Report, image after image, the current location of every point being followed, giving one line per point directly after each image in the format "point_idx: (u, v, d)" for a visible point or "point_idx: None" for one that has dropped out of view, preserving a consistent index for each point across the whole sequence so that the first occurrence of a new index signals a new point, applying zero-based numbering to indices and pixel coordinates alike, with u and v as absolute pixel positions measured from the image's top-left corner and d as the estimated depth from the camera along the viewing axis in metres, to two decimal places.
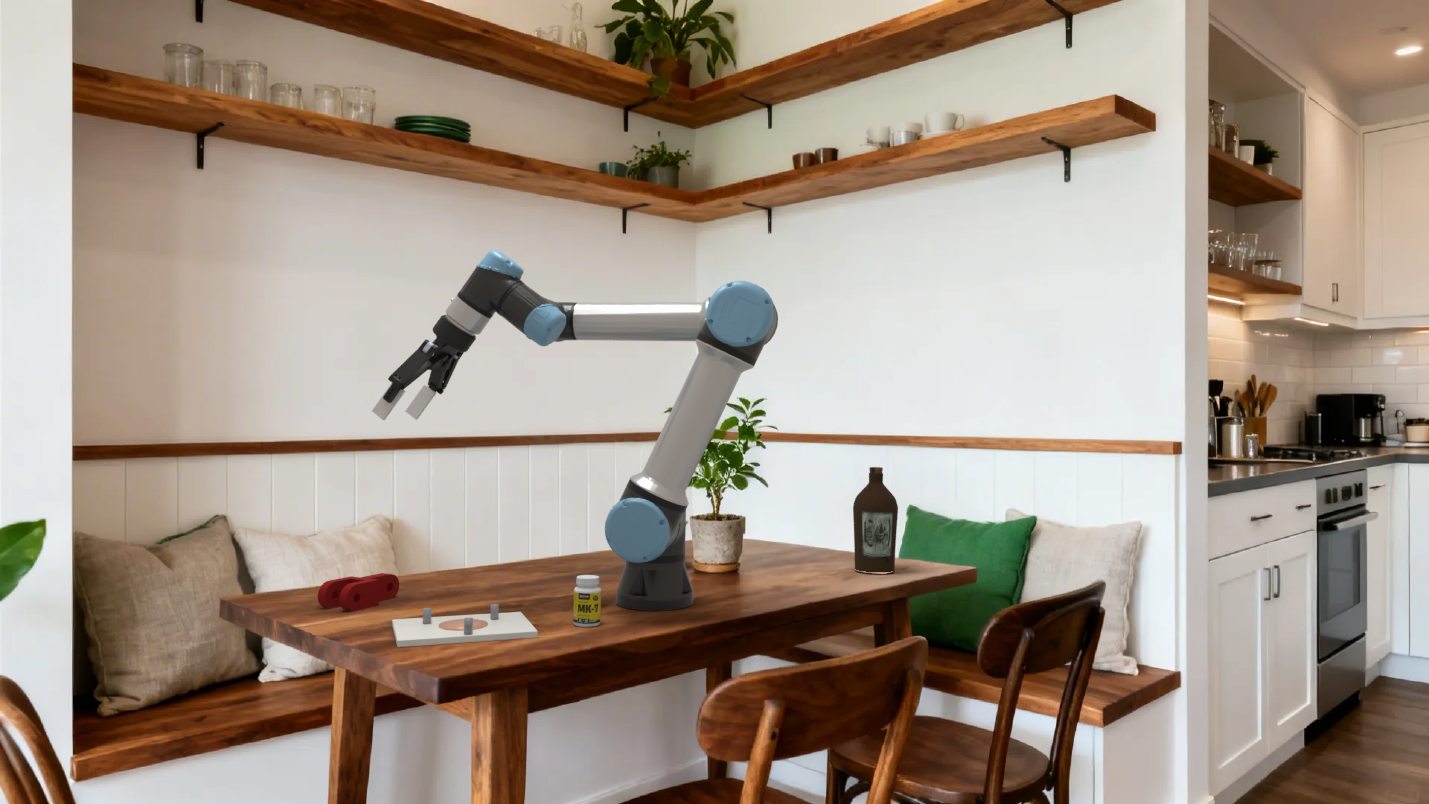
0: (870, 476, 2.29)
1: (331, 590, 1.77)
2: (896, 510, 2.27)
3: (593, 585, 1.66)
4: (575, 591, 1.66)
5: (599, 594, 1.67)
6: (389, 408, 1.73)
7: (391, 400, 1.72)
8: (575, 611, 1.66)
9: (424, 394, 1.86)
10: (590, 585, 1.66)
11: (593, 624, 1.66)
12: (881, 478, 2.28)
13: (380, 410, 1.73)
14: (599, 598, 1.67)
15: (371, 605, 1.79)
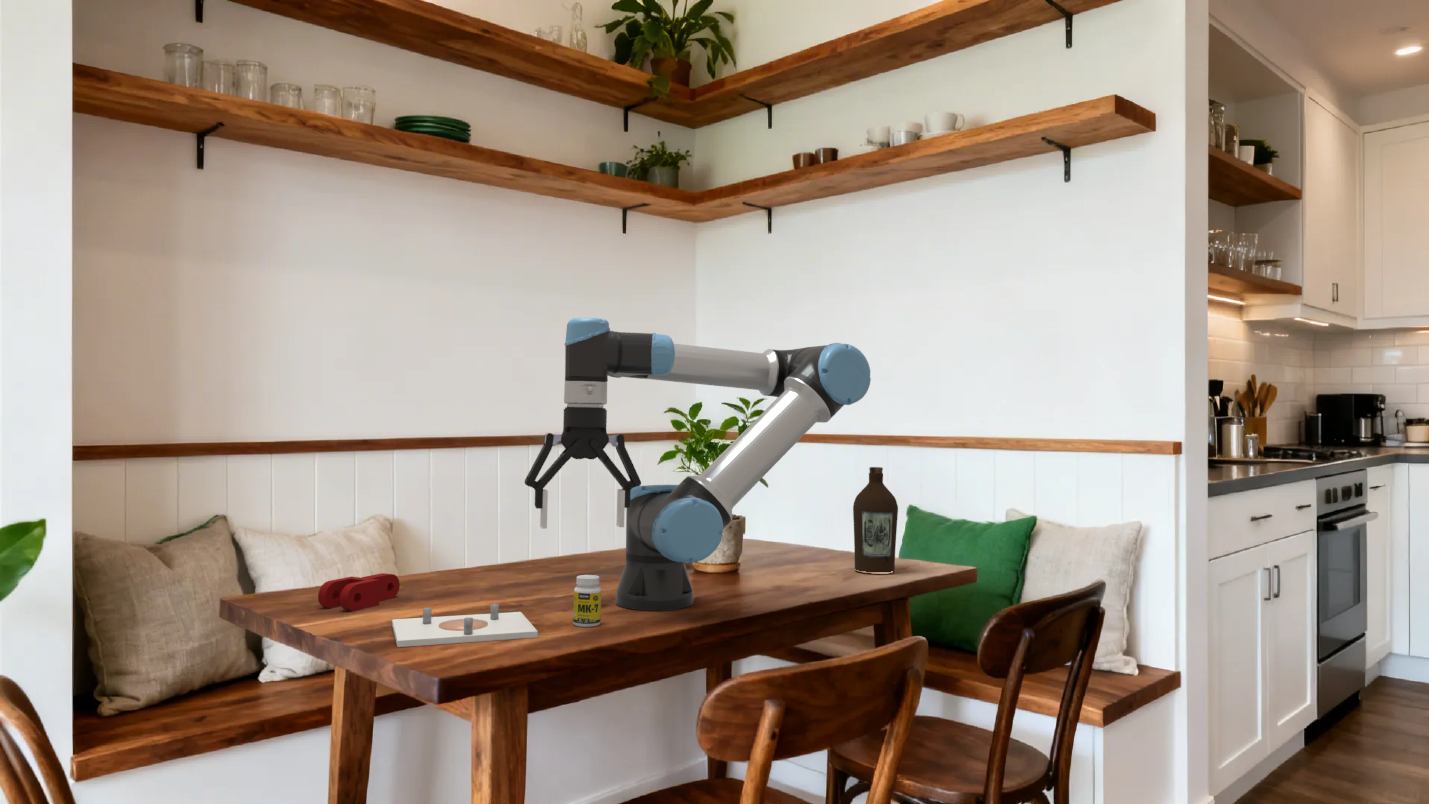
0: (870, 476, 2.29)
1: (332, 590, 1.78)
2: (896, 510, 2.27)
3: (593, 585, 1.66)
4: (575, 591, 1.66)
5: (599, 594, 1.67)
6: None
7: None
8: (575, 611, 1.66)
9: None
10: (590, 585, 1.66)
11: (593, 624, 1.66)
12: (881, 478, 2.28)
13: None
14: (599, 598, 1.67)
15: (371, 605, 1.79)
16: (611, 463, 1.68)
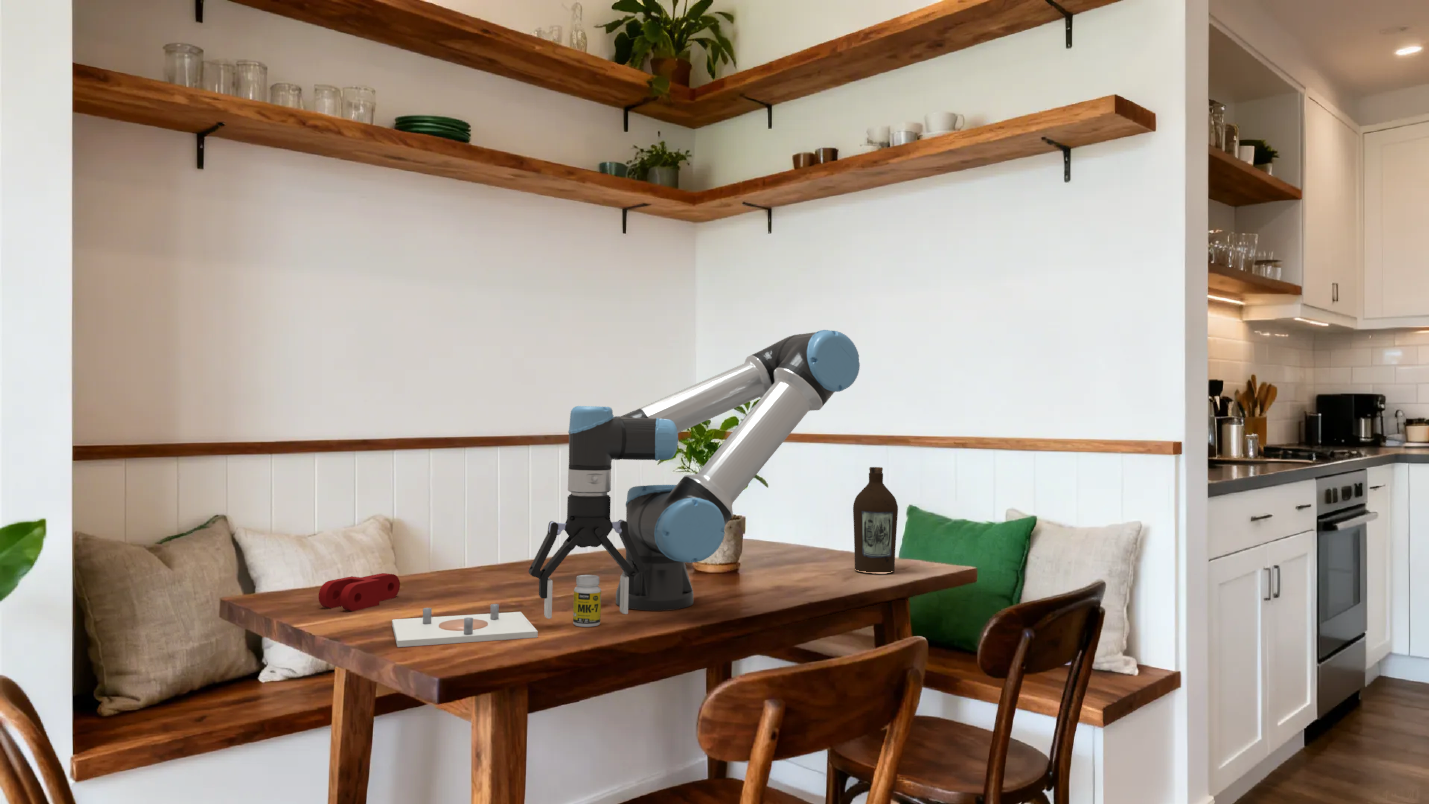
0: (870, 476, 2.29)
1: (332, 590, 1.78)
2: (896, 510, 2.27)
3: (593, 585, 1.66)
4: (575, 591, 1.66)
5: (599, 594, 1.67)
6: None
7: None
8: (575, 611, 1.66)
9: None
10: (590, 585, 1.66)
11: (593, 624, 1.66)
12: (881, 478, 2.28)
13: None
14: (599, 598, 1.67)
15: (372, 605, 1.80)
16: (615, 550, 1.68)
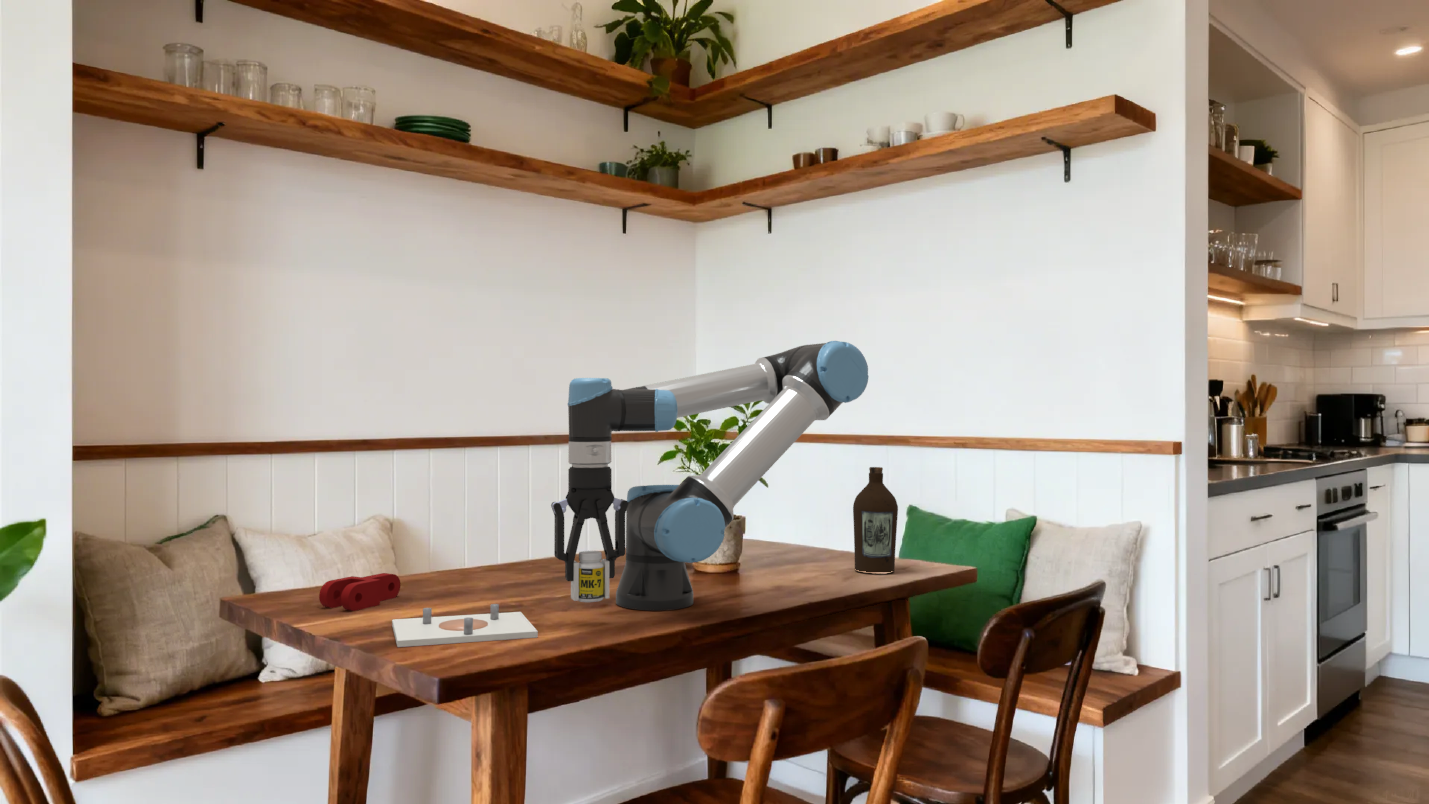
0: (870, 476, 2.29)
1: (333, 589, 1.78)
2: (896, 510, 2.27)
3: (595, 560, 1.66)
4: None
5: (602, 569, 1.67)
6: None
7: None
8: None
9: None
10: (593, 560, 1.66)
11: (596, 599, 1.66)
12: (881, 478, 2.28)
13: None
14: (602, 573, 1.67)
15: (372, 605, 1.80)
16: (606, 528, 1.68)
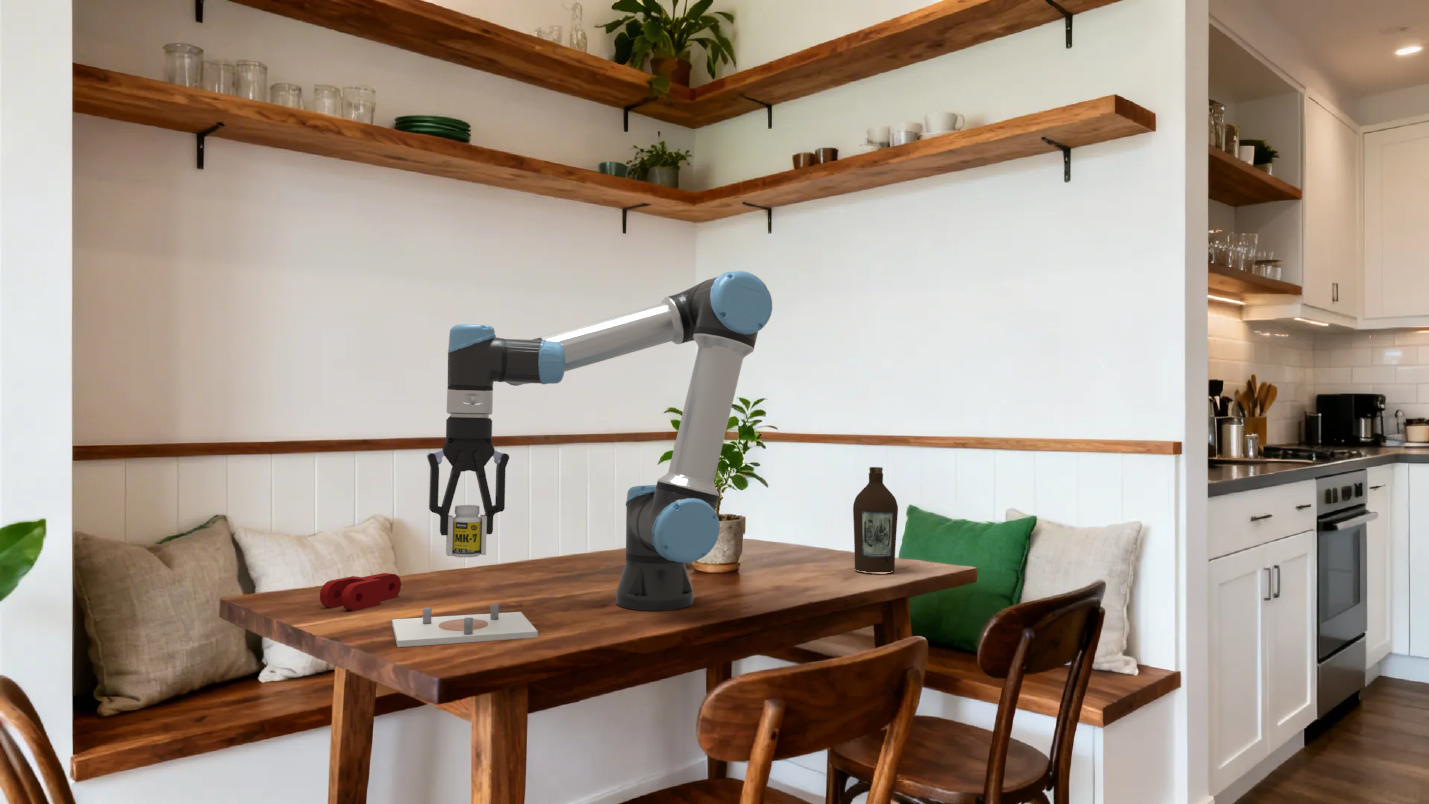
0: (870, 476, 2.29)
1: (334, 589, 1.78)
2: (896, 510, 2.27)
3: (471, 514, 1.60)
4: (453, 520, 1.60)
5: (478, 523, 1.60)
6: None
7: None
8: (453, 541, 1.60)
9: None
10: (468, 514, 1.59)
11: (471, 554, 1.59)
12: (881, 478, 2.28)
13: None
14: (478, 528, 1.60)
15: (373, 605, 1.80)
16: (485, 482, 1.61)
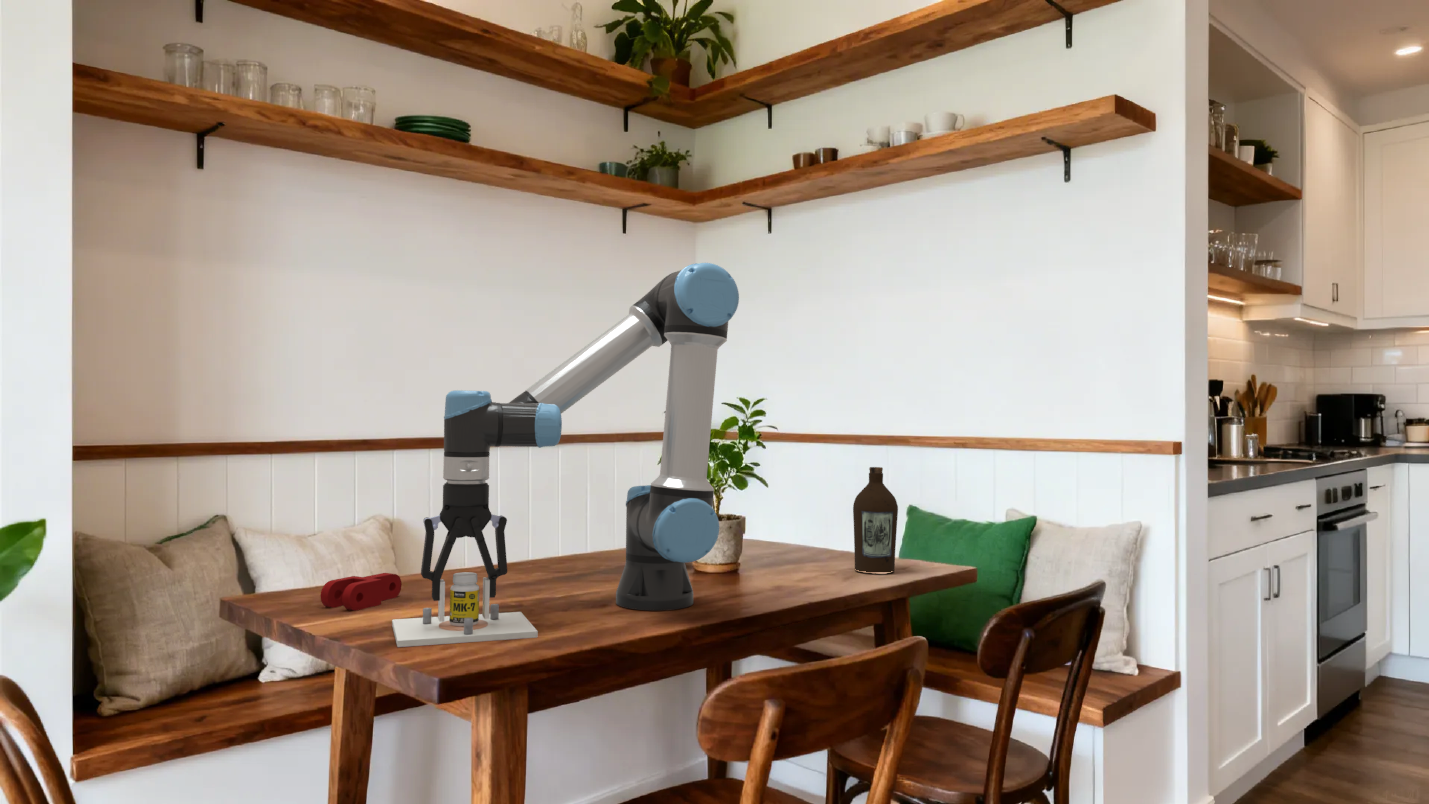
0: (870, 476, 2.29)
1: (334, 589, 1.78)
2: (896, 510, 2.27)
3: (469, 583, 1.60)
4: (451, 589, 1.60)
5: (476, 592, 1.60)
6: None
7: None
8: (451, 610, 1.60)
9: None
10: (466, 583, 1.59)
11: None
12: (881, 478, 2.28)
13: None
14: (476, 596, 1.60)
15: (374, 605, 1.80)
16: (485, 547, 1.61)
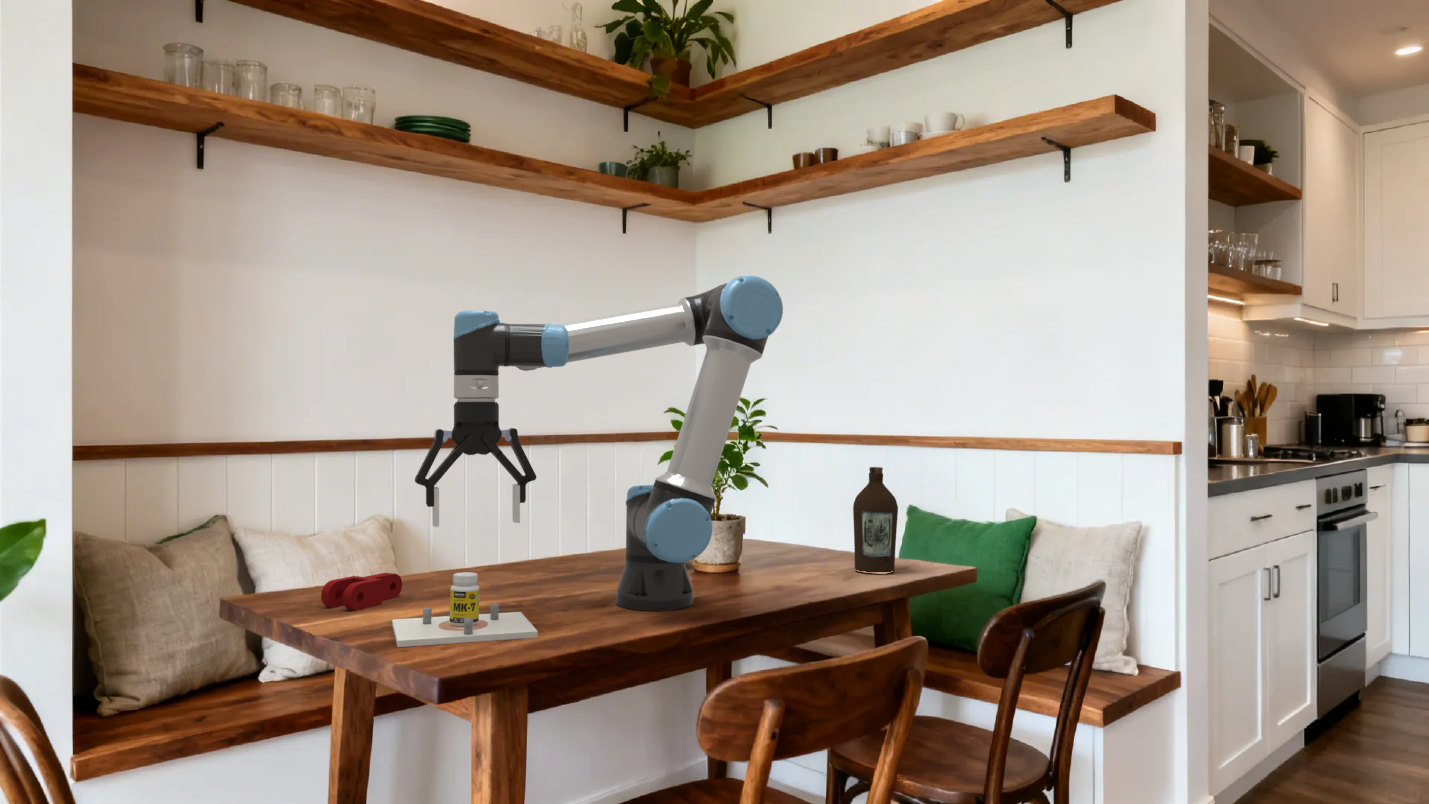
0: (870, 476, 2.29)
1: (335, 589, 1.78)
2: (896, 510, 2.27)
3: (470, 583, 1.60)
4: (451, 589, 1.60)
5: (477, 592, 1.60)
6: None
7: None
8: (451, 610, 1.60)
9: None
10: (466, 583, 1.59)
11: None
12: (881, 478, 2.28)
13: None
14: (476, 596, 1.60)
15: (374, 604, 1.80)
16: (505, 458, 1.65)
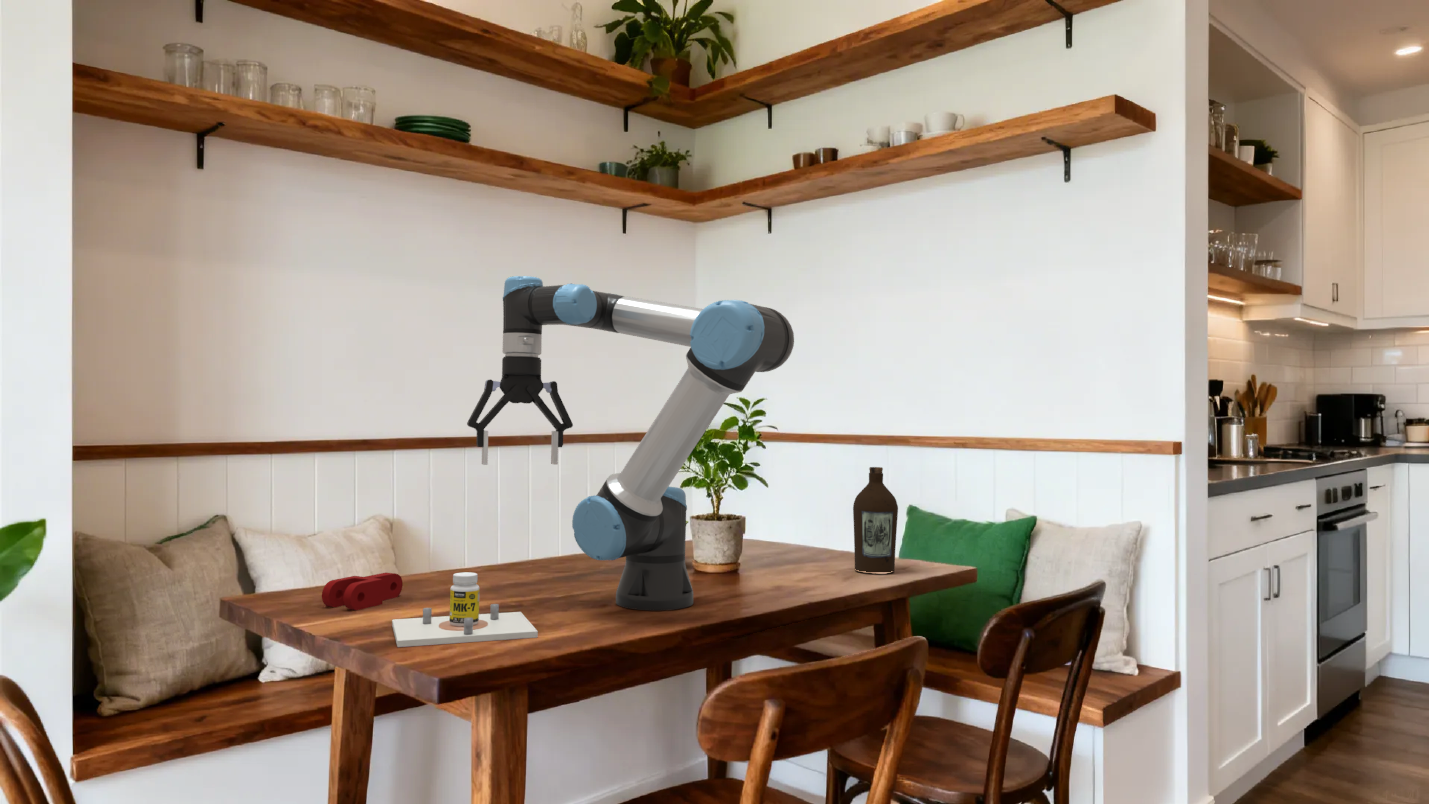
0: (870, 476, 2.29)
1: (335, 589, 1.78)
2: (896, 510, 2.27)
3: (470, 583, 1.60)
4: (451, 589, 1.60)
5: (477, 592, 1.60)
6: None
7: None
8: (451, 610, 1.59)
9: None
10: (466, 583, 1.59)
11: None
12: (881, 478, 2.28)
13: None
14: (476, 596, 1.60)
15: (375, 604, 1.80)
16: (545, 407, 1.88)
